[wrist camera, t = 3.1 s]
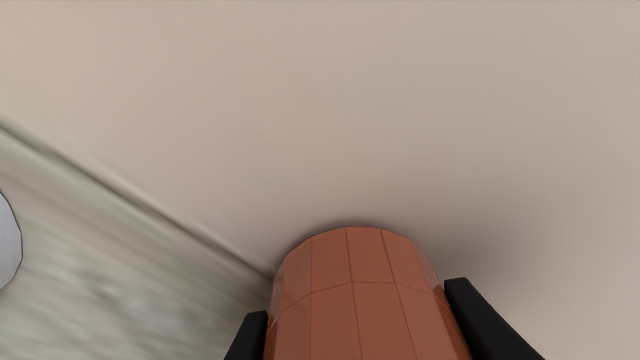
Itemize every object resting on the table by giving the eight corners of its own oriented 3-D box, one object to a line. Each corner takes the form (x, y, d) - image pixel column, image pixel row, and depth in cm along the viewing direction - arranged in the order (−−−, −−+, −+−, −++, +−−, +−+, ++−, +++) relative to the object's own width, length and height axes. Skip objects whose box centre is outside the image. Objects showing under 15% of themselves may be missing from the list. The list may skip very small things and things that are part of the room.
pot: (458, 279, 12) (539, 440, 8) (344, 343, 14) (357, 502, 10) (363, 185, 10) (402, 335, 6) (244, 276, 12) (203, 440, 7)
